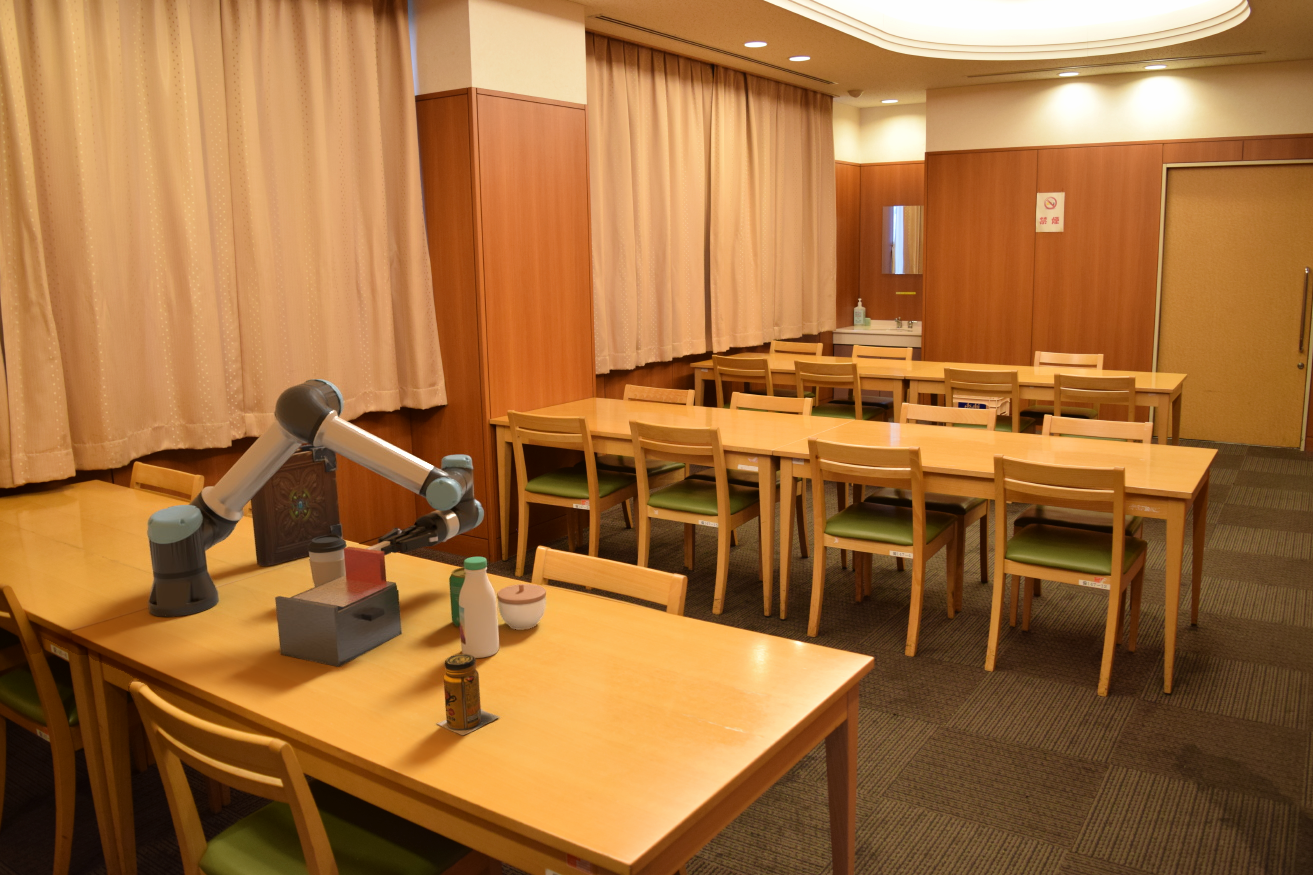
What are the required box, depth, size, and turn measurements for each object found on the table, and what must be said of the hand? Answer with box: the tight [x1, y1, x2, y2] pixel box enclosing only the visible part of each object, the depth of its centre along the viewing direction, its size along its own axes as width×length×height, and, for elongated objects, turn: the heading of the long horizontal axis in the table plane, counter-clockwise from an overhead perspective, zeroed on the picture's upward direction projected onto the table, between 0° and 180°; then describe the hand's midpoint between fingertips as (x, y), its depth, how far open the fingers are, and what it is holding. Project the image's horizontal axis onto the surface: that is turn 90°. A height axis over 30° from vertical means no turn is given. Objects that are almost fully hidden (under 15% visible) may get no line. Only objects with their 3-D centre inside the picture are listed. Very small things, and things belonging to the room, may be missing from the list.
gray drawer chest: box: [274, 576, 402, 668], centre depth 206 cm, size 19×21×12 cm
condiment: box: [436, 653, 501, 736], centre depth 170 cm, size 7×8×12 cm
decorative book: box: [250, 444, 344, 567], centre depth 268 cm, size 23×7×30 cm, turn 139°
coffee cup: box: [307, 534, 348, 587], centre depth 236 cm, size 9×9×15 cm
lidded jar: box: [496, 583, 547, 631], centre depth 215 cm, size 11×11×9 cm
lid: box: [293, 546, 397, 611], centre depth 206 cm, size 16×14×8 cm
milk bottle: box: [459, 556, 500, 659], centre depth 200 cm, size 8×8×20 cm
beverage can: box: [448, 566, 466, 629], centre depth 217 cm, size 8×8×12 cm
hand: (367, 555), depth 213 cm, fingers closed
